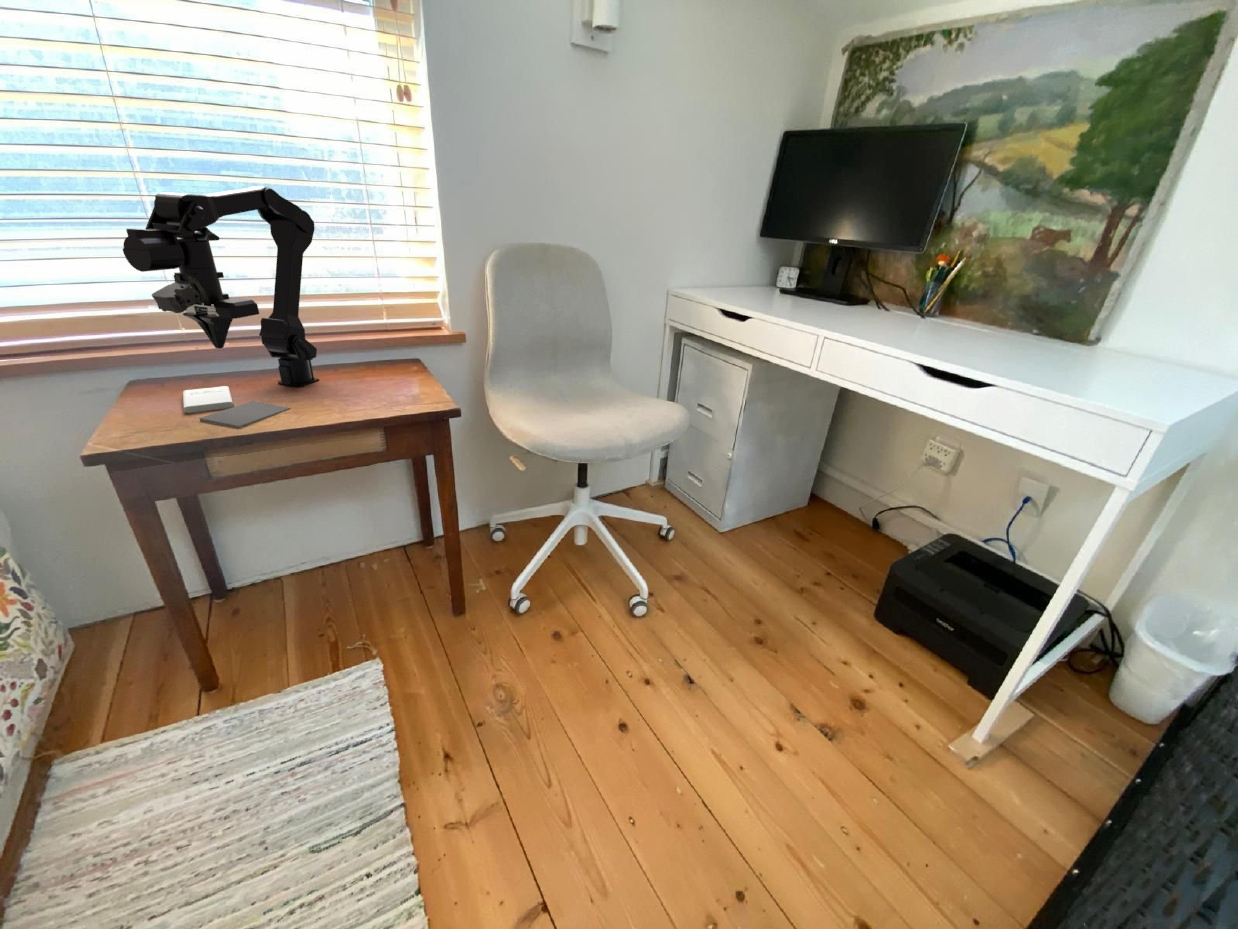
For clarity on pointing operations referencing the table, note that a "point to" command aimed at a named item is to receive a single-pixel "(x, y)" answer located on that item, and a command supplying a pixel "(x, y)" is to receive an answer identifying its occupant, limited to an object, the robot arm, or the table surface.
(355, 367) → the table surface
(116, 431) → the table surface
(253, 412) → the desk mat
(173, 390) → the table surface
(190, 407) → the external hard drive
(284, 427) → the table surface
